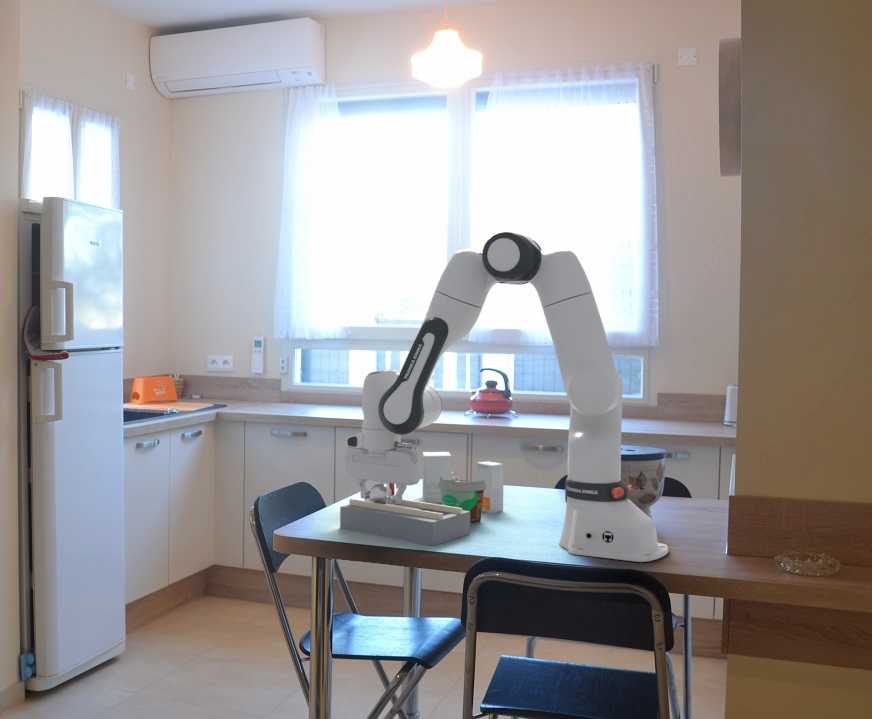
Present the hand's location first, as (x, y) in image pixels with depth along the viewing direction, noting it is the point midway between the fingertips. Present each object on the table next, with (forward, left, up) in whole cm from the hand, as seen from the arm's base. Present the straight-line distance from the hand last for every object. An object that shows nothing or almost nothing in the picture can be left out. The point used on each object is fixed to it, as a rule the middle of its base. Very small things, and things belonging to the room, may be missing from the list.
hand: (381, 500), depth 199 cm
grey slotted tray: (-7, 0, -6) cm, 9 cm away
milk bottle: (+16, -19, -6) cm, 26 cm away
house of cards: (+19, -54, -7) cm, 58 cm away
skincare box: (-10, -31, -6) cm, 33 cm away
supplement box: (+8, -33, -6) cm, 35 cm away
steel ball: (0, 0, +1) cm, 1 cm away
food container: (-11, -15, -6) cm, 20 cm away
